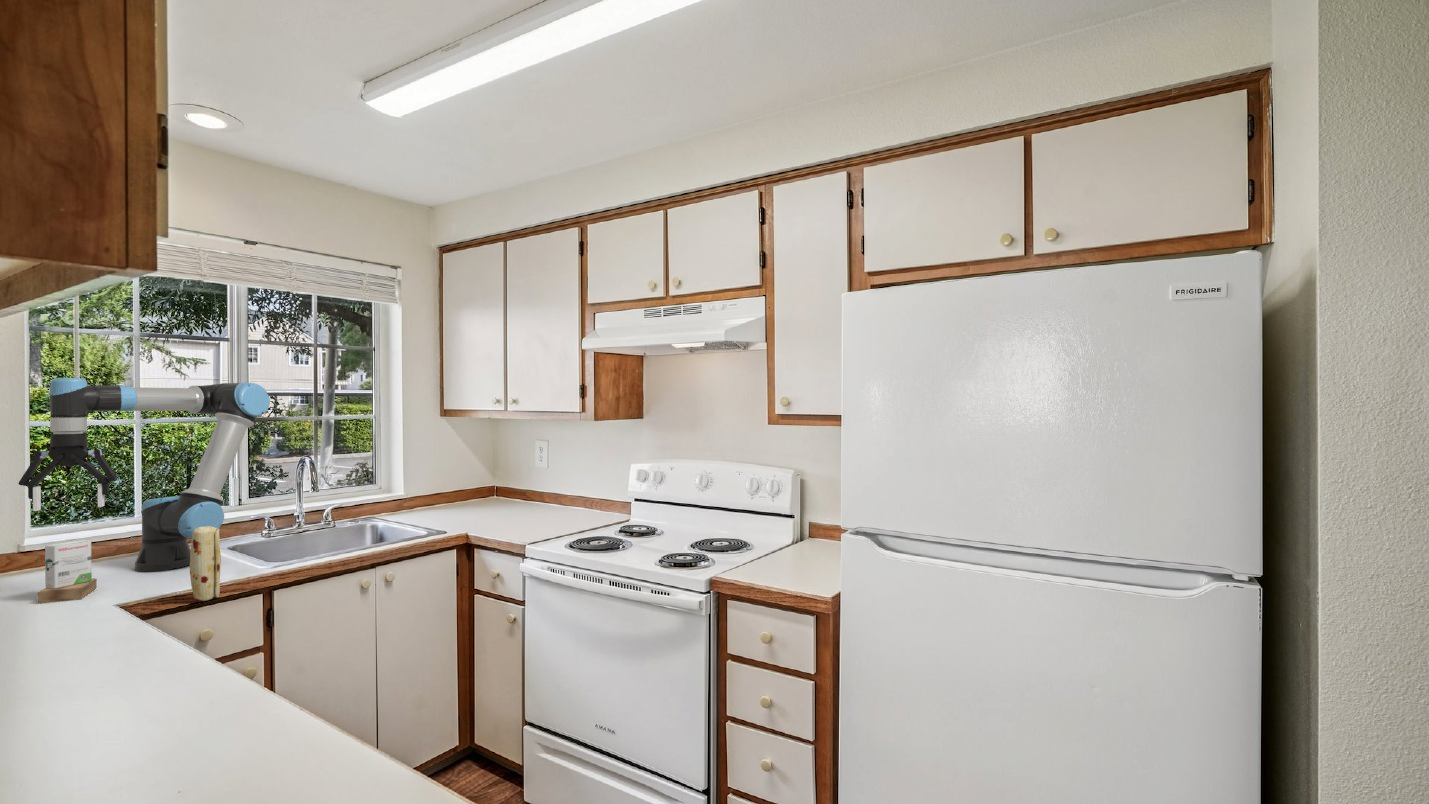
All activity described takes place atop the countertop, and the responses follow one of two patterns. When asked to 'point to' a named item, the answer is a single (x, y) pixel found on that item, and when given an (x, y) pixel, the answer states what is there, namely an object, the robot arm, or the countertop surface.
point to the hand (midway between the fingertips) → (69, 508)
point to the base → (67, 592)
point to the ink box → (68, 563)
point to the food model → (205, 563)
